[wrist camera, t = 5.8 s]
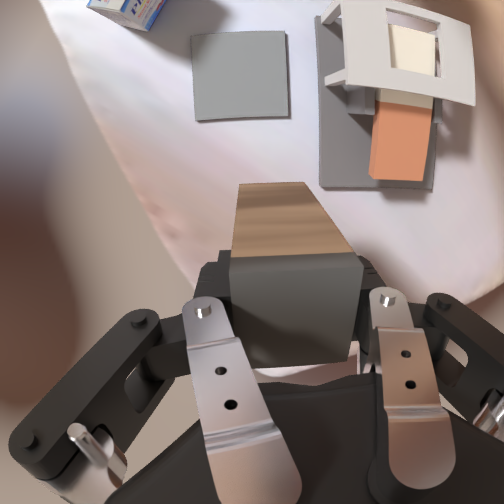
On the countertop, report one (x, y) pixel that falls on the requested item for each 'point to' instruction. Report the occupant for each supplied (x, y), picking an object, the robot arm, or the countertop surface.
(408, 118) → the rocker
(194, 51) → the mat
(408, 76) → the white square frame
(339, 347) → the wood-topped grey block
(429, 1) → the countertop surface
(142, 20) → the medicine box
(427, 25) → the countertop surface
